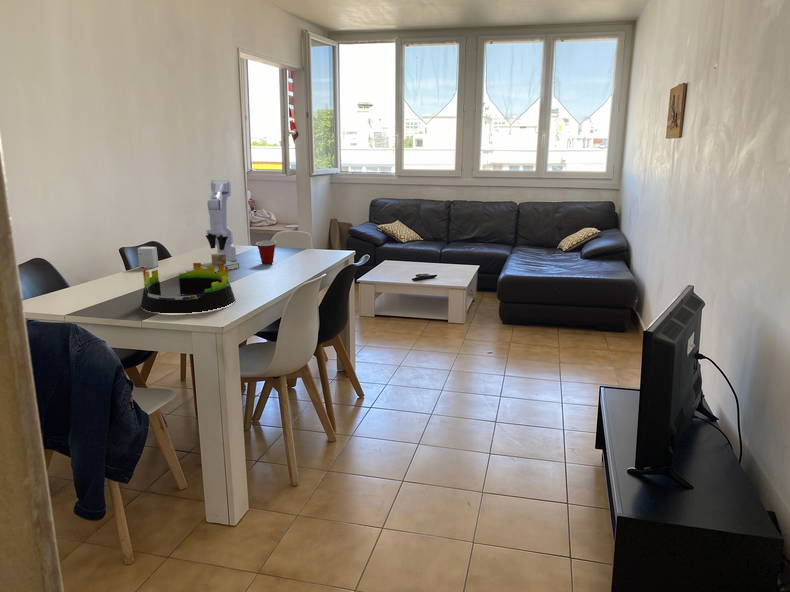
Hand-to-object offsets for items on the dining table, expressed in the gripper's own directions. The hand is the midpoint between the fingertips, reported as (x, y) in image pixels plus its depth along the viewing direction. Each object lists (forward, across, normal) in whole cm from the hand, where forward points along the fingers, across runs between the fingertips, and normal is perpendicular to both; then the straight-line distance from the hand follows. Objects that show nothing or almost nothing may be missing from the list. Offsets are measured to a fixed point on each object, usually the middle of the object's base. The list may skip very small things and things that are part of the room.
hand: (217, 249), depth 318 cm
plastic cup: (+11, +9, +25) cm, 29 cm away
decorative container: (+11, +51, -51) cm, 73 cm away
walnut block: (+8, +1, 0) cm, 8 cm away
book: (+11, +1, 0) cm, 11 cm away
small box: (+11, -32, -21) cm, 39 cm away
